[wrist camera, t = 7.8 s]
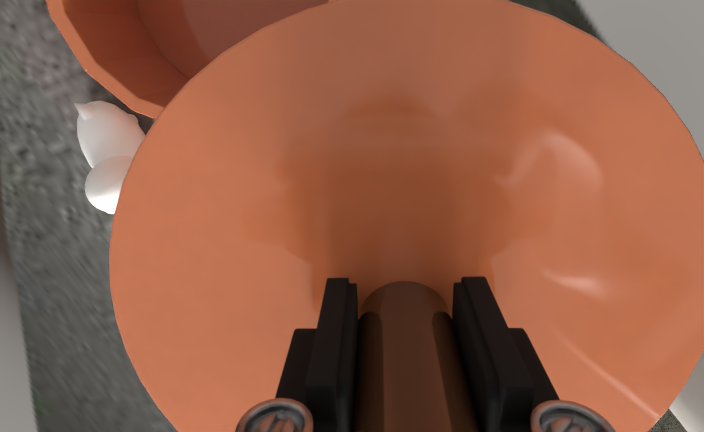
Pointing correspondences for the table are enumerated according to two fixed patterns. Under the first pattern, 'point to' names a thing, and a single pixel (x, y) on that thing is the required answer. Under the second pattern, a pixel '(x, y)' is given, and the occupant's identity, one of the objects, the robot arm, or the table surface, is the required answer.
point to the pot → (159, 40)
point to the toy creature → (107, 149)
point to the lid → (412, 215)
